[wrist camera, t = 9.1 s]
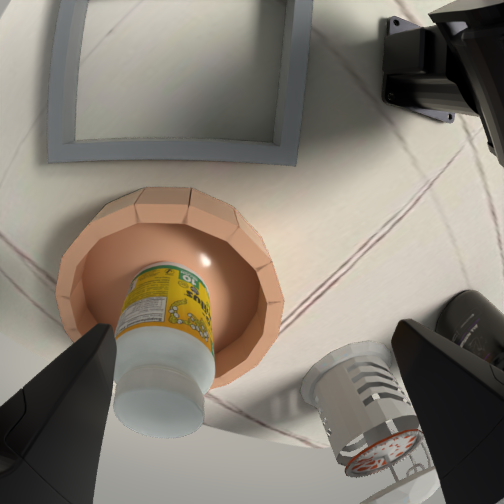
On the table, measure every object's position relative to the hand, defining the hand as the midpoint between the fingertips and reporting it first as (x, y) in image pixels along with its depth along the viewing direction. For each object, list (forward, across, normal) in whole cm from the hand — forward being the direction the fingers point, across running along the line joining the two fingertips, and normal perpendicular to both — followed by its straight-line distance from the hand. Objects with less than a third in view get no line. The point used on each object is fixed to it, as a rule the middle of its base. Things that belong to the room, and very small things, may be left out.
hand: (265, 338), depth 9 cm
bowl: (+12, +4, +6) cm, 14 cm away
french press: (+12, -13, +17) cm, 24 cm away
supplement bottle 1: (+11, +4, +6) cm, 13 cm away
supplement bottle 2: (+12, -24, +10) cm, 29 cm away
